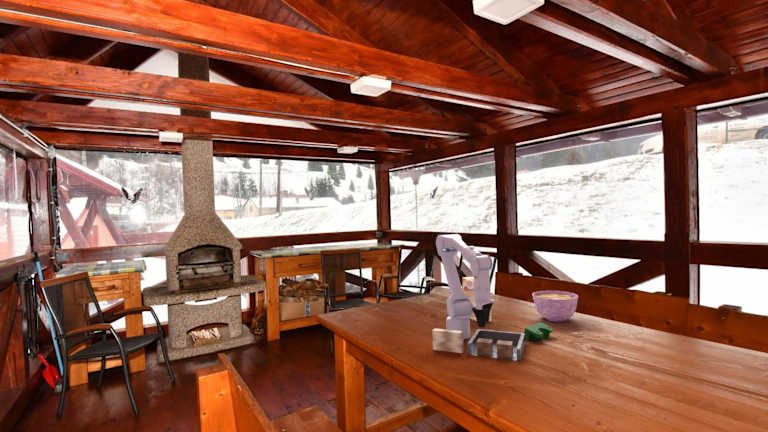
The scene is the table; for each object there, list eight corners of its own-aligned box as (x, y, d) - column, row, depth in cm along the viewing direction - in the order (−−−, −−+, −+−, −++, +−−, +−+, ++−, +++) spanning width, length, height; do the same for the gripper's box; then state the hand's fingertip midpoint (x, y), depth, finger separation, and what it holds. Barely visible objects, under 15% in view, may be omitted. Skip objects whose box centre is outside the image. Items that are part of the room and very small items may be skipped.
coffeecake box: (463, 315, 190) (461, 277, 190) (475, 314, 192) (473, 276, 192) (479, 323, 175) (477, 281, 175) (492, 321, 178) (490, 280, 178)
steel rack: (467, 357, 135) (467, 343, 135) (478, 341, 151) (477, 329, 151) (520, 363, 127) (520, 349, 127) (525, 346, 143) (524, 333, 143)
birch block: (433, 351, 141) (432, 330, 141) (435, 349, 143) (434, 328, 143) (461, 354, 136) (461, 333, 136) (463, 352, 139) (462, 331, 139)
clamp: (537, 354, 146) (536, 337, 142) (523, 347, 150) (522, 330, 146) (554, 337, 151) (553, 320, 148) (540, 330, 156) (540, 313, 152)
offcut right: (497, 356, 132) (496, 343, 132) (498, 352, 135) (498, 340, 135) (511, 358, 130) (511, 345, 130) (513, 354, 133) (512, 341, 133)
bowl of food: (523, 317, 182) (522, 293, 182) (553, 311, 190) (552, 288, 190) (558, 328, 163) (557, 301, 163) (589, 320, 172) (588, 295, 172)
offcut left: (477, 354, 135) (476, 341, 135) (479, 350, 138) (478, 338, 138) (491, 355, 133) (490, 343, 133) (493, 351, 136) (492, 339, 136)
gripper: (489, 292, 131) (491, 331, 131) (496, 284, 144) (497, 319, 144) (469, 291, 134) (471, 329, 134) (477, 283, 147) (479, 318, 147)
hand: (483, 324), depth 139 cm, fingers open, 7 cm apart
